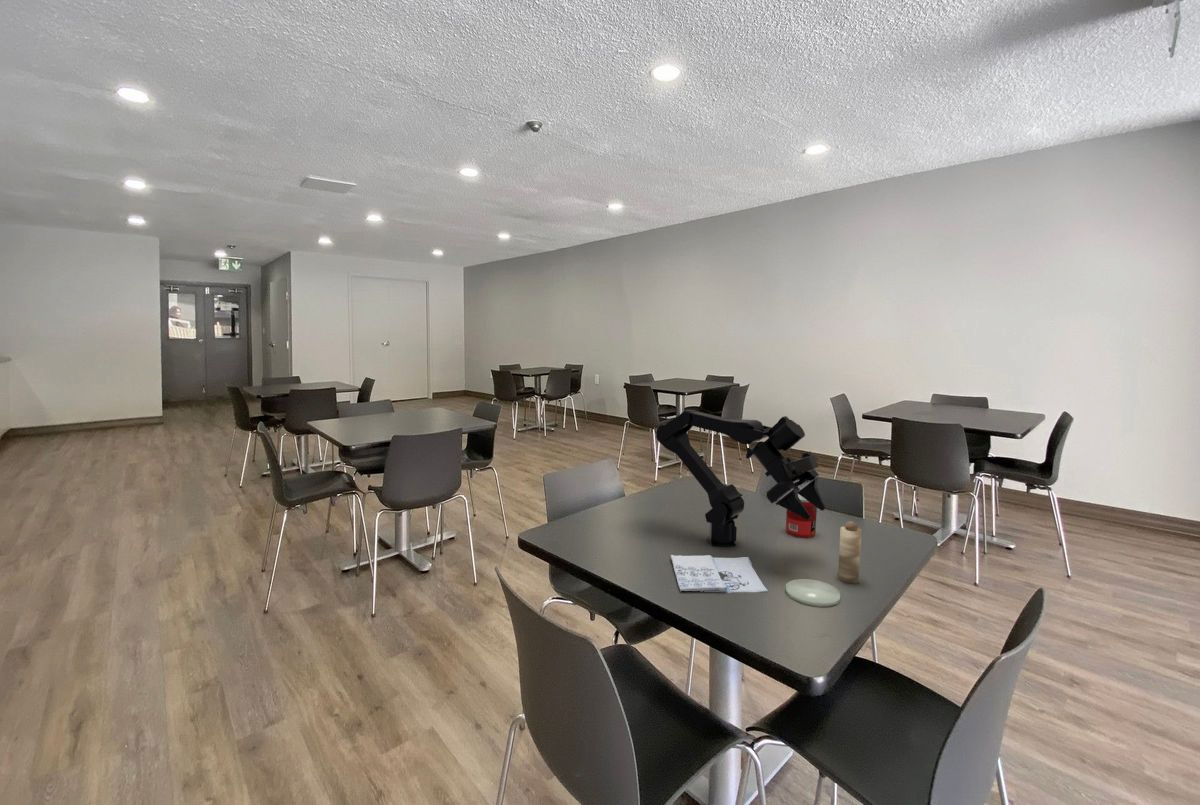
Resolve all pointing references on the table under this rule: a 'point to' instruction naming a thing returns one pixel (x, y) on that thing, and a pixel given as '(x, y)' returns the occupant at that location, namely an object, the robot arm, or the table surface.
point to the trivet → (813, 592)
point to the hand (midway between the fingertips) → (816, 514)
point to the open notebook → (716, 574)
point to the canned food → (802, 521)
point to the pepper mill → (849, 553)
